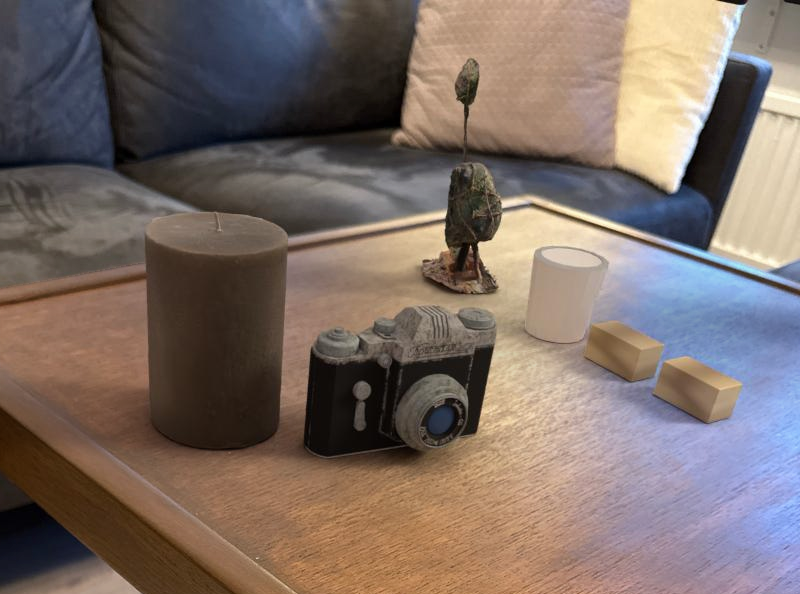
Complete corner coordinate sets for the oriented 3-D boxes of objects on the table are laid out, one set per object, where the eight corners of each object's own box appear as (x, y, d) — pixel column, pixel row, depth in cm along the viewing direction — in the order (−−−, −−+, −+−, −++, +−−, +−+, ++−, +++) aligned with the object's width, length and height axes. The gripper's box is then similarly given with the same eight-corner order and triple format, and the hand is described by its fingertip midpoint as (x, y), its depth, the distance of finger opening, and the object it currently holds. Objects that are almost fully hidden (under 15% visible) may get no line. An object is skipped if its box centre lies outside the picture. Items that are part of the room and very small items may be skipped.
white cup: (560, 351, 90) (579, 274, 85) (503, 326, 94) (518, 251, 89) (604, 336, 94) (624, 262, 89) (548, 312, 97) (565, 240, 93)
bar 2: (730, 417, 82) (743, 383, 80) (707, 423, 80) (719, 389, 78) (676, 388, 85) (686, 355, 84) (652, 394, 84) (662, 360, 82)
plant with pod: (421, 298, 98) (454, 70, 85) (419, 261, 106) (449, 49, 94) (502, 307, 98) (547, 79, 85) (493, 269, 106) (533, 58, 94)
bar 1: (654, 376, 87) (664, 344, 85) (631, 382, 86) (640, 349, 84) (606, 351, 91) (614, 319, 89) (582, 356, 89) (591, 324, 88)
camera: (334, 482, 68) (348, 343, 62) (294, 437, 73) (304, 304, 66) (510, 452, 74) (540, 322, 67) (463, 412, 78) (487, 287, 72)
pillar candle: (253, 461, 69) (262, 243, 60) (127, 433, 71) (116, 217, 62) (296, 406, 77) (310, 204, 67) (180, 381, 78) (178, 181, 69)
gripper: (816, -266, 72) (736, 9, 83) (946, -236, 80) (857, 11, 91) (735, -265, 77) (668, -5, 87) (865, -237, 85) (789, -2, 95)
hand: (764, 3), depth 89 cm, fingers open, 9 cm apart
